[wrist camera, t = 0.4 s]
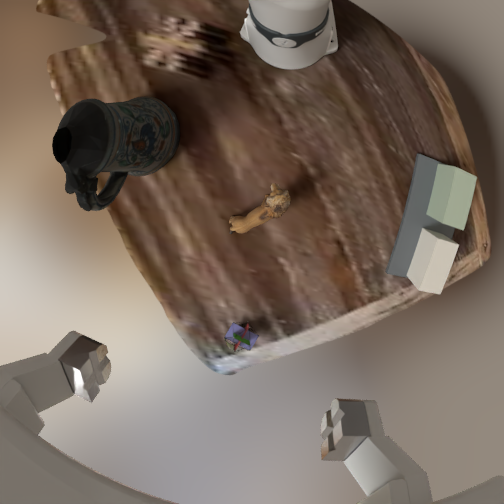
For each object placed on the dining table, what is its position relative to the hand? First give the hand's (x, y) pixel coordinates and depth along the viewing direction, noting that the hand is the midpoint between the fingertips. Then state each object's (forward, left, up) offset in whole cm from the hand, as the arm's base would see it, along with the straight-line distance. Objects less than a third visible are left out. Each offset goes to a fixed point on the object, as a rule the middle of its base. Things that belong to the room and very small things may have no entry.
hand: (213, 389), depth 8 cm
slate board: (-1, +34, -46) cm, 57 cm away
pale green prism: (-8, +35, -45) cm, 58 cm away
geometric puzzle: (+33, -1, -47) cm, 57 cm away
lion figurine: (+4, -2, -47) cm, 47 cm away
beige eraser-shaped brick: (+6, +35, -45) cm, 58 cm away
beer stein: (-6, -27, -47) cm, 54 cm away
